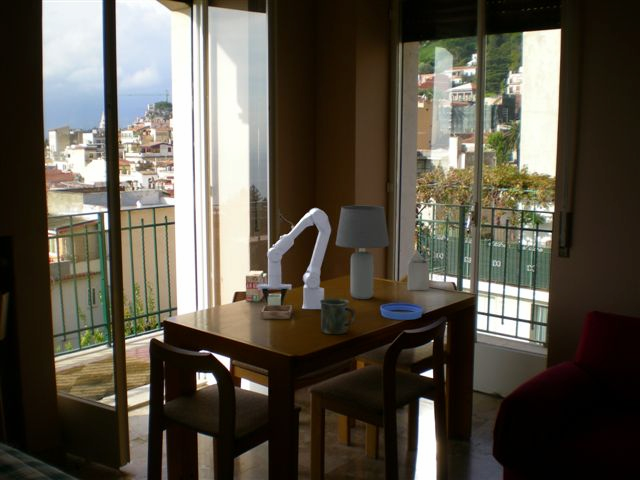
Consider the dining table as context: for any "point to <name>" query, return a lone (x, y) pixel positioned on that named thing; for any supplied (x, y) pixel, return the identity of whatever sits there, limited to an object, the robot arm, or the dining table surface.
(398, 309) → the bowl
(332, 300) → the mug
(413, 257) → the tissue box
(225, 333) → the dining table surface
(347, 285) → the dining table surface
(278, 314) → the big crate
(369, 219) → the lamp
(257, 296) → the stack of blocks
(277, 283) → the robot arm
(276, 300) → the box
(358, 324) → the dining table surface
